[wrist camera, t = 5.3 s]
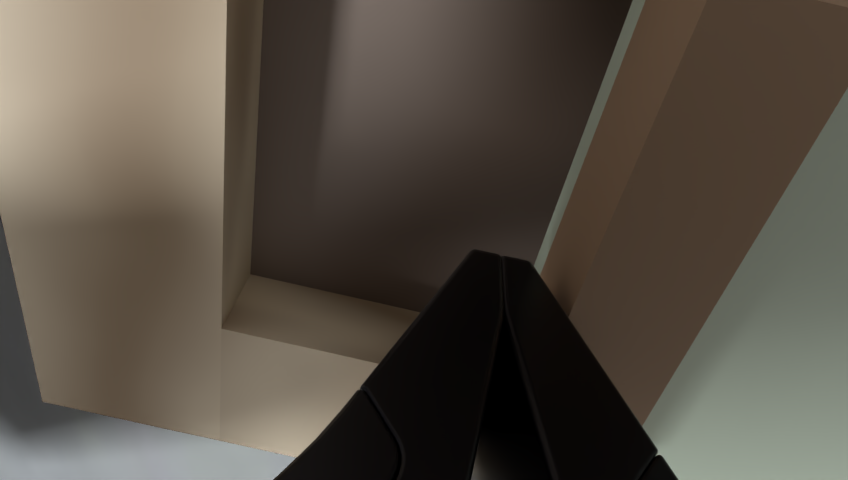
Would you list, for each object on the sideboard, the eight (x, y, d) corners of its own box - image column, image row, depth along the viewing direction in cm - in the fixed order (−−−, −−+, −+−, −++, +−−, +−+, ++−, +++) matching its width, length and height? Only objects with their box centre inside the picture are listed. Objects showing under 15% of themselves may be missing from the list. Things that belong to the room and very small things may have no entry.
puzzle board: (89, 338, 16) (41, 401, 15) (-47, -582, 8) (-199, -677, 6) (1026, 546, 17) (1080, 629, 15) (1917, -100, 8) (2269, -68, 6)
